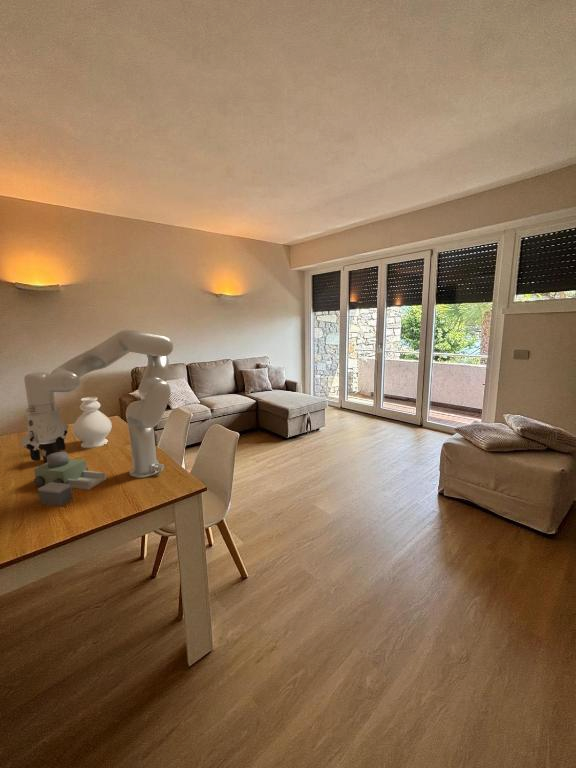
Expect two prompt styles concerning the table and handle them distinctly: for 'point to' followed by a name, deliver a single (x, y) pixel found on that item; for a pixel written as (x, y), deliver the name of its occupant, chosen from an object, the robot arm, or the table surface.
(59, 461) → the green toy tractor
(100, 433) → the decorative vase
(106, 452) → the table surface
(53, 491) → the gray rectangular block
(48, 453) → the coffee mug
